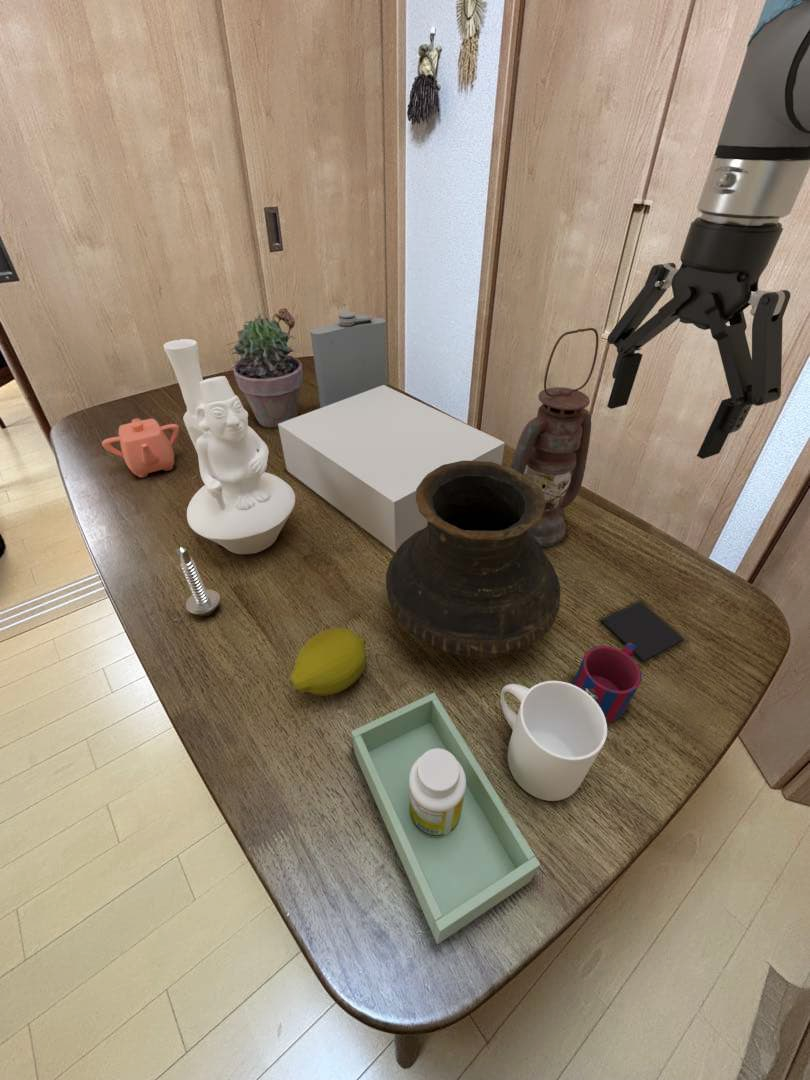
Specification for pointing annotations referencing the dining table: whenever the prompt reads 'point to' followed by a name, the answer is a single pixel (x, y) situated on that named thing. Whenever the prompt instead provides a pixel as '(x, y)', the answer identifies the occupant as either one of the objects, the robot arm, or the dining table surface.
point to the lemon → (329, 662)
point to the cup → (609, 678)
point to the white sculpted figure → (228, 462)
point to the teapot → (144, 446)
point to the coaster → (642, 630)
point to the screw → (197, 588)
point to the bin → (475, 843)
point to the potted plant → (268, 370)
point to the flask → (349, 357)
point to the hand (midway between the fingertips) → (658, 428)
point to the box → (379, 457)
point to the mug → (553, 737)
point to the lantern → (556, 450)
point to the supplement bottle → (436, 792)
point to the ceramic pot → (475, 563)
